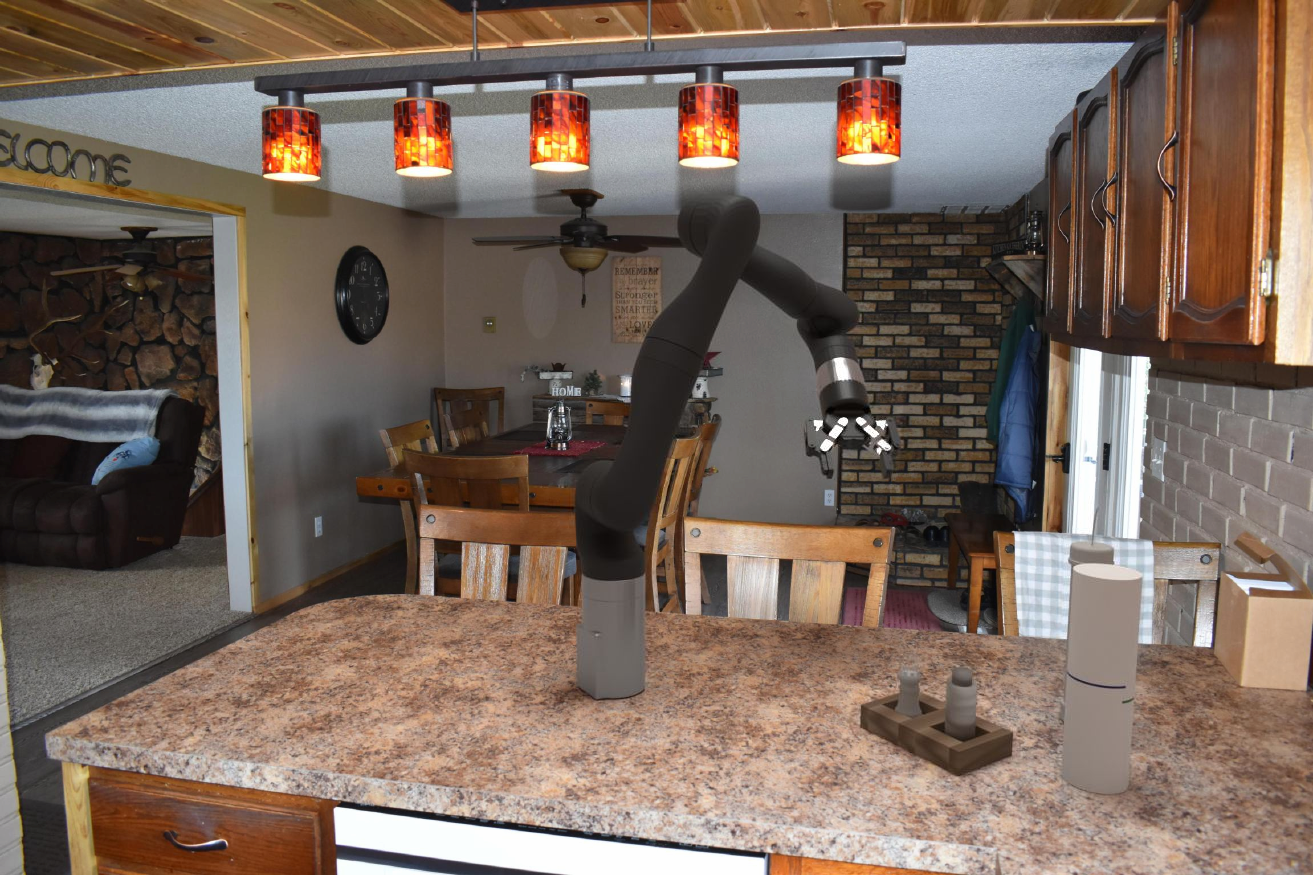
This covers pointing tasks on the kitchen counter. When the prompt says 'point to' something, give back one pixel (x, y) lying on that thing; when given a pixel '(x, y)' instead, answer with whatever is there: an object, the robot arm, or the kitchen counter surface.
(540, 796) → the kitchen counter surface
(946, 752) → the holder
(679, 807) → the kitchen counter surface
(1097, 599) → the cylindrical container
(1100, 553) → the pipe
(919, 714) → the rook chess piece
